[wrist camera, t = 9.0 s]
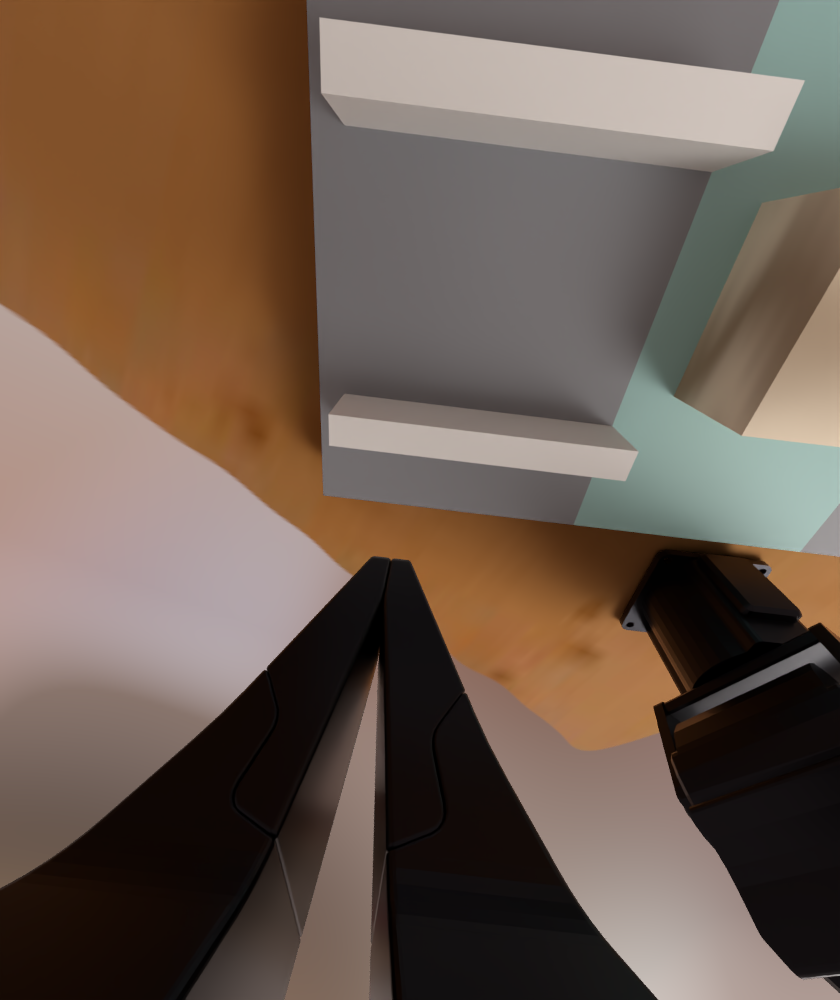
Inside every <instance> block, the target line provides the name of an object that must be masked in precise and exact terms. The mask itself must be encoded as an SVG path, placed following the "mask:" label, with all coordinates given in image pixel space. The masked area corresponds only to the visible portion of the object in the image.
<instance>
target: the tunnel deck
mask: <svg viewBox="0 0 840 1000" xmlns="http://www.w3.org/2000/svg"><path fill="white" fill-rule="evenodd" d="M307 27H308V56H309V86H310V115H311V144H312V174H313V203H314V233H315V262H316V292H317V321H318V350H319V380H320V409H321V439H322V468H323V495H325V496H334V497H342V498H351V499H359V500H367V501H376V502H384V503H393V504H401V505H409V506H418V507H426V508H435V509H443V510H452V511H460V512H468V513H477V514H485V515H494V516H502V517H510V518H519V519H527V520H536V521H544V522H553V523H561V524H569V525H578V526H586V527H595V528H603V529H611V530H620V531H628V532H637V533H645V534H654V535H662V536H670V537H679V538H687V539H696V540H704V541H713V542H721V543H729V544H738V545H746V546H755V547H763V548H771V549H780V550H788V551H797V552H805V553H814V554H822V555H830V556H839V557H840V447H833V446H825V445H816V444H808V443H799V442H790V441H782V440H773V439H765V438H756V437H747V436H741V435H739V434H738V433H736V432H734V431H732V430H731V429H729V428H727V427H725V426H724V425H722V424H720V423H719V422H717V421H715V420H713V419H712V418H710V417H708V416H706V415H705V414H703V413H701V412H700V411H698V410H696V409H694V408H693V407H691V406H689V405H687V404H686V403H684V402H682V401H681V400H679V399H677V398H675V397H674V394H675V392H676V390H677V388H678V386H679V383H680V381H681V379H682V377H683V375H684V373H685V370H686V368H687V366H688V364H689V362H690V359H691V357H692V355H693V353H694V351H695V348H696V346H697V344H698V342H699V340H700V338H701V335H702V333H703V331H704V329H705V327H706V324H707V322H708V320H709V318H710V316H711V313H712V311H713V309H714V307H715V305H716V303H717V300H718V298H719V296H720V294H721V292H722V289H723V287H724V285H725V283H726V281H727V278H728V276H729V274H730V272H731V270H732V268H733V265H734V263H735V261H736V259H737V257H738V254H739V252H740V250H741V248H742V246H743V243H744V241H745V239H746V237H747V235H748V233H749V230H750V228H751V226H752V224H753V222H754V219H755V217H756V215H757V213H758V211H759V208H760V206H761V204H762V203H764V202H769V201H774V200H779V199H784V198H790V197H795V196H800V195H805V194H810V193H816V192H821V191H826V190H831V189H836V188H840V0H307Z"/></svg>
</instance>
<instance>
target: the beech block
mask: <svg viewBox="0 0 840 1000" xmlns="http://www.w3.org/2000/svg"><path fill="white" fill-rule="evenodd" d="M674 397H675V398H677V399H679V400H681V401H682V402H684V403H686V404H687V405H689V406H691V407H693V408H694V409H696V410H698V411H700V412H701V413H703V414H705V415H706V416H708V417H710V418H712V419H713V420H715V421H717V422H719V423H720V424H722V425H724V426H725V427H727V428H729V429H731V430H732V431H734V432H736V433H738V434H739V435H741V436H747V437H756V438H765V439H773V440H782V441H790V442H799V443H808V444H816V445H825V446H833V447H840V188H836V189H831V190H826V191H821V192H816V193H810V194H805V195H800V196H795V197H790V198H784V199H779V200H774V201H769V202H764V203H762V204H761V206H760V208H759V211H758V213H757V215H756V217H755V219H754V222H753V224H752V226H751V228H750V230H749V233H748V235H747V237H746V239H745V241H744V243H743V246H742V248H741V250H740V252H739V254H738V257H737V259H736V261H735V263H734V265H733V268H732V270H731V272H730V274H729V276H728V278H727V281H726V283H725V285H724V287H723V289H722V292H721V294H720V296H719V298H718V300H717V303H716V305H715V307H714V309H713V311H712V313H711V316H710V318H709V320H708V322H707V324H706V327H705V329H704V331H703V333H702V335H701V338H700V340H699V342H698V344H697V346H696V348H695V351H694V353H693V355H692V357H691V359H690V362H689V364H688V366H687V368H686V370H685V373H684V375H683V377H682V379H681V381H680V383H679V386H678V388H677V390H676V392H675V394H674Z"/></svg>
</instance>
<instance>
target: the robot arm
mask: <svg viewBox="0 0 840 1000" xmlns="http://www.w3.org/2000/svg"><path fill="white" fill-rule="evenodd" d="M666 558H667V559H666ZM664 559H665V560H664ZM770 572H771V568H770V566H768V565H767V564H766V563H765V562H763V561H757V560H749V559H746V558H739V557H730V556H722V555H713V554H698V553H690V552H681V551H673V550H663V551H661V552H659V553H658V554H657V555H656V556H655V558H654V560H653V562H652V564H651V565H650V567H649V569H648V571H647V572H646V574H645V576H644V578H643V580H642V581H641V583H640V585H639V587H638V588H637V590H636V592H635V594H634V595H633V597H632V599H631V601H630V603H629V604H628V606H627V608H626V610H625V611H624V613H623V615H622V617H621V619H620V623H621V625H622V627H623V628H624V629H626V630H633V631H641V632H647V633H648V635H649V637H650V639H651V640H652V642H653V644H654V646H655V648H656V650H657V651H658V653H659V655H660V657H661V659H662V660H663V662H664V664H665V666H666V668H667V670H668V671H669V673H670V675H671V677H672V679H673V681H674V682H675V684H676V686H677V688H678V690H679V691H680V693H681V695H680V696H678V697H676V698H674V699H672V700H670V701H668V702H666V703H664V702H661V703H659V704H657V705H655V706H654V711H655V715H656V719H657V724H658V728H659V732H660V735H661V739H662V743H663V747H664V750H665V754H666V758H667V762H668V765H669V769H670V773H671V776H672V780H673V784H674V788H675V791H676V795H677V798H678V799H679V801H680V803H681V804H682V805H683V806H684V808H685V811H686V813H687V814H688V815H689V817H690V818H691V819H692V821H693V822H694V824H695V825H696V827H697V828H698V829H699V831H700V832H701V833H702V835H703V836H704V837H705V839H706V840H707V841H708V842H709V843H710V844H711V845H712V846H713V848H714V849H715V850H716V852H717V853H718V855H719V856H720V858H721V860H722V862H723V863H724V865H725V867H726V868H727V870H728V872H729V874H730V876H731V878H732V880H733V881H734V883H735V885H736V887H737V889H738V891H739V893H740V895H741V897H742V899H743V901H744V903H745V905H746V907H747V909H748V911H749V913H750V915H751V917H752V919H753V922H754V923H755V926H756V928H757V930H758V931H759V933H760V935H761V937H762V938H763V939H764V940H765V942H766V943H767V944H768V945H769V946H770V947H771V948H772V949H773V951H774V952H775V953H776V954H777V955H778V956H779V957H780V958H781V959H782V961H783V962H784V963H785V964H786V965H787V966H788V967H789V969H790V970H791V971H792V972H793V973H795V974H796V975H797V976H798V977H800V978H801V979H814V978H824V979H825V980H826V981H827V982H828V983H829V984H830V985H831V986H832V987H834V988H835V989H836V990H837V991H838V992H839V993H840V638H839V637H838V636H837V635H835V634H834V633H833V632H832V631H830V630H829V629H828V628H827V627H825V626H824V625H823V624H822V623H818V624H816V625H814V626H812V627H810V628H808V629H807V628H806V627H805V626H804V625H803V624H802V623H801V622H800V621H799V619H800V618H801V617H802V614H801V612H800V610H799V609H798V608H797V607H796V606H795V605H794V604H793V603H792V602H791V601H790V600H789V599H788V598H787V597H786V596H785V595H784V594H783V593H782V592H781V591H780V590H779V589H778V588H777V587H776V586H775V585H774V584H773V583H772V582H771V581H769V580H768V579H767V576H768V575H769V574H770ZM378 656H379V663H378V690H377V729H376V730H377V731H376V766H375V767H376V768H375V805H374V844H373V883H372V919H371V944H372V945H371V957H370V994H369V995H370V996H369V1000H658V999H657V998H656V997H655V996H654V995H653V993H652V992H651V991H650V990H649V989H648V988H647V987H646V985H644V983H643V982H642V981H641V980H640V979H639V978H638V976H637V975H636V974H635V973H634V972H633V971H632V970H631V968H630V967H629V966H628V965H627V964H626V963H625V962H624V960H623V959H622V958H621V957H620V956H619V955H618V954H617V952H616V951H615V950H614V949H613V948H612V947H611V946H610V944H609V943H608V942H607V941H606V940H605V938H604V937H603V936H602V935H601V933H600V932H599V931H598V929H597V928H596V927H595V925H594V924H593V923H592V922H591V920H590V919H589V917H588V916H587V915H586V913H585V912H584V910H583V909H582V907H581V906H580V904H579V903H578V901H577V900H576V898H575V896H574V895H573V893H572V892H571V890H570V889H569V887H568V885H567V884H566V882H565V880H564V878H563V877H562V875H561V873H560V872H559V870H558V868H557V866H556V865H555V863H554V861H553V859H552V858H551V856H550V854H549V852H548V850H547V849H546V847H545V845H544V843H543V841H542V840H541V838H540V836H539V834H538V832H537V831H536V829H535V827H534V825H533V824H532V822H531V820H530V818H529V816H528V815H527V813H526V811H525V809H524V808H523V806H522V804H521V802H520V800H519V799H518V797H517V795H516V793H515V791H514V790H513V788H512V786H511V784H510V783H509V781H508V779H507V777H506V775H505V773H504V771H503V769H502V768H501V766H500V764H499V762H498V760H497V758H496V756H495V754H494V752H493V751H492V749H491V747H490V745H489V743H488V741H487V738H486V736H485V734H484V732H483V730H482V728H481V725H480V723H479V721H478V719H477V717H476V715H475V712H474V710H473V708H472V705H471V703H470V700H469V698H468V696H467V694H466V693H464V692H465V689H464V687H463V684H462V682H461V680H460V677H459V675H458V672H457V670H456V668H455V665H454V663H453V661H452V658H451V656H450V653H449V651H448V649H447V646H446V644H445V642H444V639H443V637H442V635H441V632H440V630H439V627H438V625H437V623H436V620H435V618H434V616H433V613H432V611H431V608H430V606H429V604H428V601H427V599H426V597H425V594H424V592H423V590H422V587H421V585H420V582H419V580H418V578H417V575H416V573H415V571H414V568H413V566H412V564H411V562H410V561H409V560H402V559H392V560H390V559H389V558H385V557H377V556H373V557H371V558H370V559H369V560H368V561H367V562H366V563H365V564H364V565H363V566H362V567H361V569H360V570H359V571H358V572H357V573H356V574H355V575H354V576H353V577H352V578H351V579H350V580H349V581H348V582H347V583H346V585H344V586H343V588H342V589H341V590H340V591H339V592H338V593H337V594H336V595H335V596H334V597H333V598H332V599H331V600H330V601H329V602H328V603H327V604H326V605H325V606H324V608H323V609H322V610H321V611H320V612H319V613H318V614H317V615H316V616H315V617H314V618H313V619H312V620H311V621H310V622H309V623H308V624H307V626H306V627H305V628H304V629H303V630H302V631H301V632H300V633H299V634H298V635H297V636H296V637H295V638H294V639H293V640H292V641H291V642H290V643H289V645H288V646H286V648H285V649H284V650H283V651H282V652H281V653H280V654H279V655H278V656H277V657H276V658H275V659H274V660H273V661H272V662H271V663H270V665H268V667H267V671H266V670H264V671H263V672H262V673H261V674H260V675H259V676H258V677H257V678H256V679H255V680H254V681H253V682H252V683H251V684H250V685H249V686H248V687H247V688H246V689H245V691H244V692H242V693H241V694H240V695H239V696H238V697H237V698H236V699H235V700H234V701H233V702H232V703H231V704H230V705H229V706H228V707H227V708H226V709H225V710H224V712H222V713H221V714H220V715H219V716H218V717H217V718H216V719H215V720H214V721H213V722H212V723H210V724H209V725H208V726H207V727H206V728H205V729H204V730H203V731H202V732H200V733H199V734H198V735H197V736H196V737H195V738H194V739H193V740H192V741H190V742H189V743H188V744H187V745H186V746H185V747H184V748H183V749H181V750H180V751H179V752H178V753H177V754H176V755H175V756H174V757H172V758H171V759H170V760H169V761H168V762H166V763H165V764H164V765H163V766H162V767H161V768H160V769H158V770H157V771H156V772H155V773H154V774H153V775H152V776H150V777H149V778H148V779H147V780H146V781H145V782H144V783H142V784H141V785H140V786H139V787H138V788H137V789H136V790H135V791H133V792H132V793H131V794H130V795H129V796H128V797H126V798H125V799H124V800H123V801H122V802H121V803H120V804H118V805H117V806H116V807H115V808H114V809H113V810H112V811H110V812H109V813H108V814H107V815H106V816H105V817H104V818H102V819H101V820H100V821H99V822H98V823H96V824H95V825H94V826H93V827H92V828H91V829H90V830H88V831H87V832H86V833H84V834H83V835H82V836H80V837H79V838H78V839H77V840H75V841H74V842H73V843H71V844H70V845H69V846H67V847H66V848H65V849H63V850H62V851H60V852H59V853H57V854H56V855H55V856H53V857H52V858H50V859H49V860H47V861H46V862H44V863H43V864H42V865H40V866H38V867H36V868H35V869H33V870H32V871H30V872H29V873H27V874H25V875H23V876H22V877H20V878H18V879H16V880H15V881H13V882H11V883H9V884H8V885H5V886H4V887H2V888H0V1000H284V999H285V995H286V991H287V987H288V984H289V981H290V977H291V973H292V969H293V966H294V962H295V959H296V955H297V952H298V948H299V944H300V937H301V936H302V933H303V929H304V926H305V922H306V919H307V915H308V911H309V908H310V904H311V901H312V897H313V893H314V890H315V886H316V882H317V879H318V875H319V872H320V868H321V865H322V861H323V857H324V854H325V850H326V846H327V843H328V839H329V836H330V832H331V828H332V825H333V821H334V817H335V814H336V810H337V807H338V803H339V800H340V796H341V792H342V789H343V785H344V781H345V778H346V774H347V771H348V767H349V763H350V760H351V756H352V752H353V749H354V745H355V742H356V738H357V734H358V730H359V727H360V724H361V720H362V716H363V713H364V709H365V706H366V702H367V698H368V695H369V691H370V688H371V684H372V680H373V677H374V673H375V669H376V665H377V661H378Z"/></svg>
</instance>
